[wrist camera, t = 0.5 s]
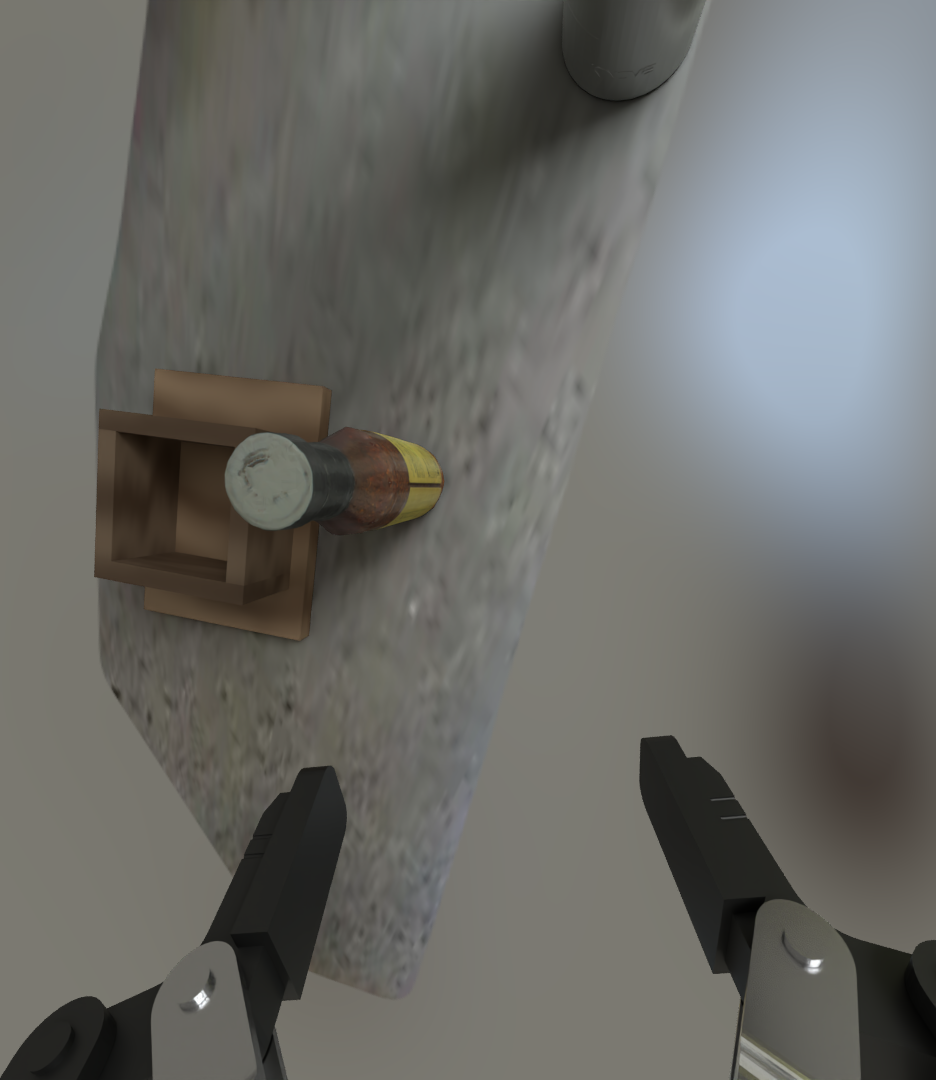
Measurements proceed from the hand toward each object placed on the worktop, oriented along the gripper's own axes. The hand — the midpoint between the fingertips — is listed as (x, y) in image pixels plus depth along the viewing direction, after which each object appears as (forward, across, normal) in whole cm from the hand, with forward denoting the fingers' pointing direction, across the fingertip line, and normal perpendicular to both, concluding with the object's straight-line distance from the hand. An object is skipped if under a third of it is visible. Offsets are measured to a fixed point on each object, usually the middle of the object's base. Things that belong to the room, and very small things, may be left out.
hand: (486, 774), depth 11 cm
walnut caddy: (+30, +22, -1) cm, 37 cm away
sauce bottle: (+28, +5, -2) cm, 28 cm away
